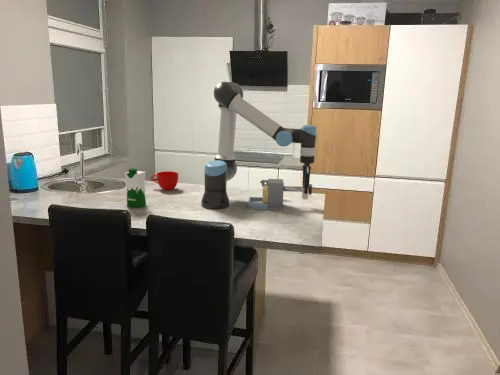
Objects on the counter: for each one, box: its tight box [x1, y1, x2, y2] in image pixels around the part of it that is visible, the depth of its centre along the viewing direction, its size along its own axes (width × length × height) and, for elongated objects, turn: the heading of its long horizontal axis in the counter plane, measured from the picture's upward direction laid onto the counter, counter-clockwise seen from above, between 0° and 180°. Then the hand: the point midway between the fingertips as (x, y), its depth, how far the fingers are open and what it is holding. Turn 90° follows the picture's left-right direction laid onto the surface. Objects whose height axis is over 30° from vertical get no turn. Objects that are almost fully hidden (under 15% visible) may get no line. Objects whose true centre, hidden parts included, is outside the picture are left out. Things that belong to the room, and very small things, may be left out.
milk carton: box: [124, 167, 147, 209], centre depth 208 cm, size 9×9×20 cm
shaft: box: [283, 183, 313, 196], centre depth 214 cm, size 21×6×6 cm, turn 88°
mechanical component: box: [260, 179, 268, 188], centre depth 233 cm, size 3×10×10 cm, turn 78°
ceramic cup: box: [150, 171, 179, 191], centre depth 245 cm, size 13×17×10 cm
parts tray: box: [248, 196, 268, 210], centre depth 217 cm, size 10×13×3 cm
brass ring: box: [261, 186, 268, 204], centre depth 215 cm, size 2×9×9 cm, turn 178°
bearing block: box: [266, 178, 285, 211], centre depth 215 cm, size 8×14×14 cm, turn 178°
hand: (304, 198), depth 215 cm, fingers closed on shaft, 3 cm apart
